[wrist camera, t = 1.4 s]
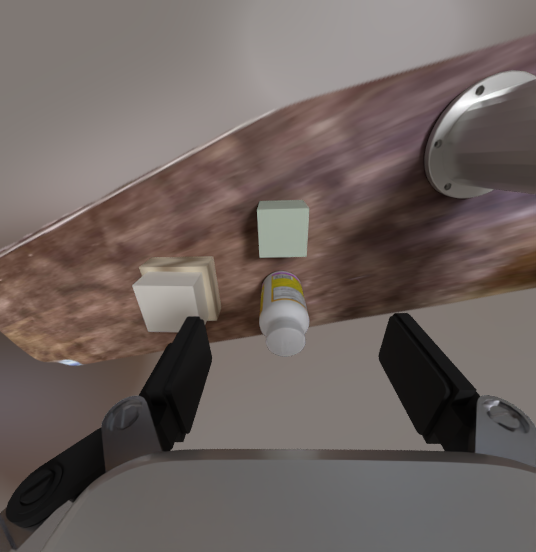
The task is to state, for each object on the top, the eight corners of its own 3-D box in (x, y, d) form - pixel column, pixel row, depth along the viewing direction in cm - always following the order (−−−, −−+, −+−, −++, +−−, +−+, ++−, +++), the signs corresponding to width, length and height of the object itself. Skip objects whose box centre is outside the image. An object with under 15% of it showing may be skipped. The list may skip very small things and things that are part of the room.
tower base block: (213, 255, 34) (206, 266, 31) (221, 306, 39) (216, 320, 36) (152, 256, 35) (139, 267, 31) (168, 306, 39) (157, 320, 36)
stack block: (302, 199, 30) (309, 208, 25) (301, 241, 33) (306, 256, 27) (259, 201, 30) (256, 209, 25) (261, 242, 33) (259, 257, 28)
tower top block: (202, 272, 31) (192, 286, 28) (209, 315, 35) (201, 332, 32) (148, 271, 31) (132, 285, 28) (160, 314, 35) (148, 331, 32)
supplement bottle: (279, 309, 39) (281, 370, 27) (254, 285, 36) (245, 341, 25) (309, 288, 36) (325, 345, 25) (284, 261, 34) (289, 311, 23)
